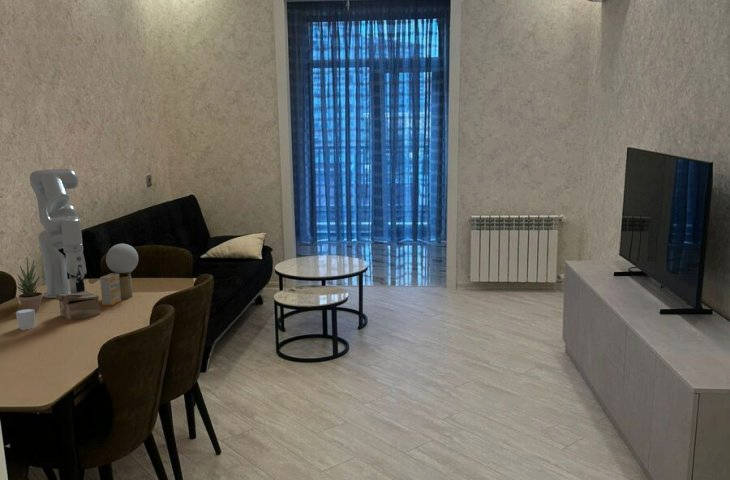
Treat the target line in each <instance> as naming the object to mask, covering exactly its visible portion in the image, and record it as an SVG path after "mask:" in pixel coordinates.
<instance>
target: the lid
mask: <svg viewBox="0 0 730 480" xmlns="http://www.w3.org/2000/svg"><path fill="white" fill-rule="evenodd" d="M96 298H100V297H99V295H96V294H95V293H92V292H89V291H88V290H87V291H86V290H85V292H82V293H66V294H58V295H57V298H56V300H57V301H58V302H59V301H61V302H63V303H65V304H67V305H69V301H77V300H86V299H96Z"/></svg>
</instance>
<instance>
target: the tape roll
mask: <svg viewBox="0 0 730 480" xmlns="http://www.w3.org/2000/svg"><path fill="white" fill-rule="evenodd" d="M79 277H80V276H79ZM79 277H78V278H79ZM68 282H69V287H70V289H69V290H71V293H82V292H86V290H85V291H81V292H77V290H76V283H77V282H76V277H72V278H68ZM84 287H85V284H84ZM85 288H86V287H85Z"/></svg>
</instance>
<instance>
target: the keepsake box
mask: <svg viewBox="0 0 730 480" xmlns="http://www.w3.org/2000/svg"><path fill="white" fill-rule="evenodd" d="M99 298H100V297H99ZM99 298H96V299H86V300H77V301H69V305H67V304H65V303H63V302H61V301H59V300H58V302H59V304H58V305H59V310H60V311H59V312H60V316H62V317H64V318H65V319H68V320H70V321H76V320H80V319H85V318H88V317H94V316H99V315H101V311H100V299H99Z"/></svg>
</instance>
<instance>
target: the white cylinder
mask: <svg viewBox="0 0 730 480" xmlns="http://www.w3.org/2000/svg"><path fill="white" fill-rule="evenodd" d="M35 313H36V312H35V310H34V309H20V310H17V311H15V316H16V320H17V325H18V329H19V330H20V329H21V331H27V330H26V329H28V330H32V329H34V328H35V327H36V316H35V315H36V314H35ZM31 328H32V329H31Z"/></svg>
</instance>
